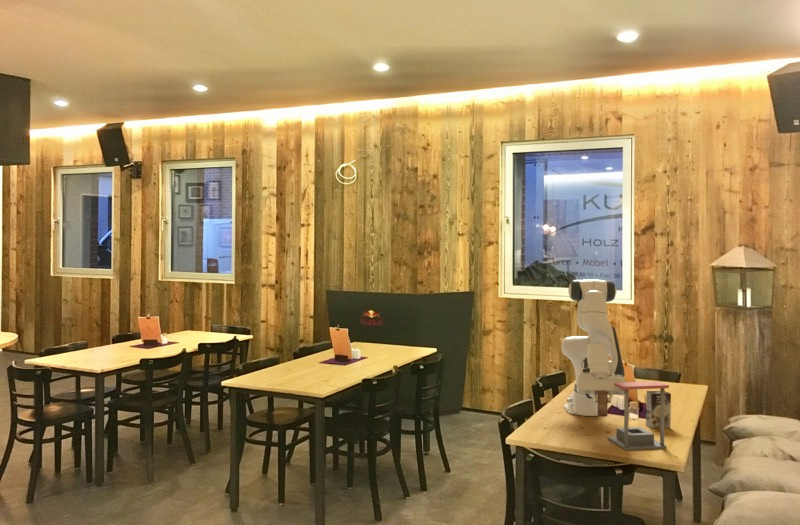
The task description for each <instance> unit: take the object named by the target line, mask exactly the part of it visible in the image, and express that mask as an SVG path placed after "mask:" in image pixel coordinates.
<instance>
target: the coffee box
mask: <svg viewBox="0 0 800 525" xmlns="http://www.w3.org/2000/svg"><path fill="white" fill-rule="evenodd" d="M645 396H646V399H645V406H646V407H645V425H646V426H648V427H649V428H651V429H656V428H657V429H660V390H646V395H645ZM671 405H672V394H671V393H670V392H668V391H666V390H665V410H664V429H671V415H672V414H671V413H672V412H671V410H672V406H671Z"/></svg>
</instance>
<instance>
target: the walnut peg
mask: <svg viewBox="0 0 800 525" xmlns="http://www.w3.org/2000/svg"><path fill="white" fill-rule="evenodd" d="M607 397H609V395H608V392H606V391H598V417H604V418H605V417H608V403H607Z"/></svg>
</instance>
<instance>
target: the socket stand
mask: <svg viewBox="0 0 800 525" xmlns="http://www.w3.org/2000/svg"><path fill="white" fill-rule="evenodd" d="M614 386H616V387H619V388H621V389H623V390H624V395H623V396H624V397H623V398H624V402H623V403H624V411H623V413H624V414H623V417H624V418H623V419H624V420H623V422H624V426H623V427H616V430H615V433H616V434H615V435H616V436H607V441H610V442H612V443H613V444H615V445H617V446H618V447H620V448H621V449H622V450H624V451H640V450H643V451H644V450H659V449H661V450H663V449H667V445H666V444H665V428H664V410H665V391H666V390H665V389H669V388H670V384H666V383H664V382H661V381H653V380H652V381H629V382H628V381H625V382H623V383H614ZM651 389H658V390H659V389H660V390H659V391H660V428H659V430H660V431H659V436H660V437H659V440H656V439H655V434H654V433H652V432H651V431H649V430H647V429H645V428H643V427H641V426H637V427H636V426H634V427H632V426H631V427H629V402H630V401H629V399H630V398H629V396H630V395H629V392H630V391H629V390H651Z"/></svg>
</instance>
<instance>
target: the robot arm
mask: <svg viewBox="0 0 800 525" xmlns="http://www.w3.org/2000/svg"><path fill="white" fill-rule="evenodd" d="M567 290H568V295H569V297H570V299H571V300H572V301H574V302H577V314H576V316H577V317H576V324H577V326H578V327H579V328H580V329H581V330H583V331H585V332H587V333H588V335H572V336H566V337H564V338H563V339H562V341H561V344H560V350H561V352H562V354H563V355H564V356H565V357H567V358H568V359H569V360H570V362H571V364H573V368H574V371H575V383H574V386H573V387H574V388H573V392H572V393H570V395H568V398H566V402H567V404H563V408H564V409H565V410H566V411H567V412H568V413H569V414H571V415H579V416H586V417H596V416H598V391H606V392H608V397H607V404H612V398H613V396H624V390H623V389H621V388H619V387H616V386H614V383H623V382H626V378H625V375H626V371H625V366H624V363H623V360H622V355H621V351H620V350H621V349H620V344H619V340H618V335H617V331H616V328H615V327H614V326H613V325H612V324H611V323H610V322H609V319H608V311H607V310H608V308H607V303H610V302H612V301H614V300H615V298H616V296H617V287H616V283H614V281H612V280H609V279H606V280H605V279H604V280H603V279H597V278H592V279H574V280H572V281H571V282H570V283H569V286H568V289H567ZM609 357H610V360H609ZM598 417H599V416H598Z"/></svg>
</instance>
